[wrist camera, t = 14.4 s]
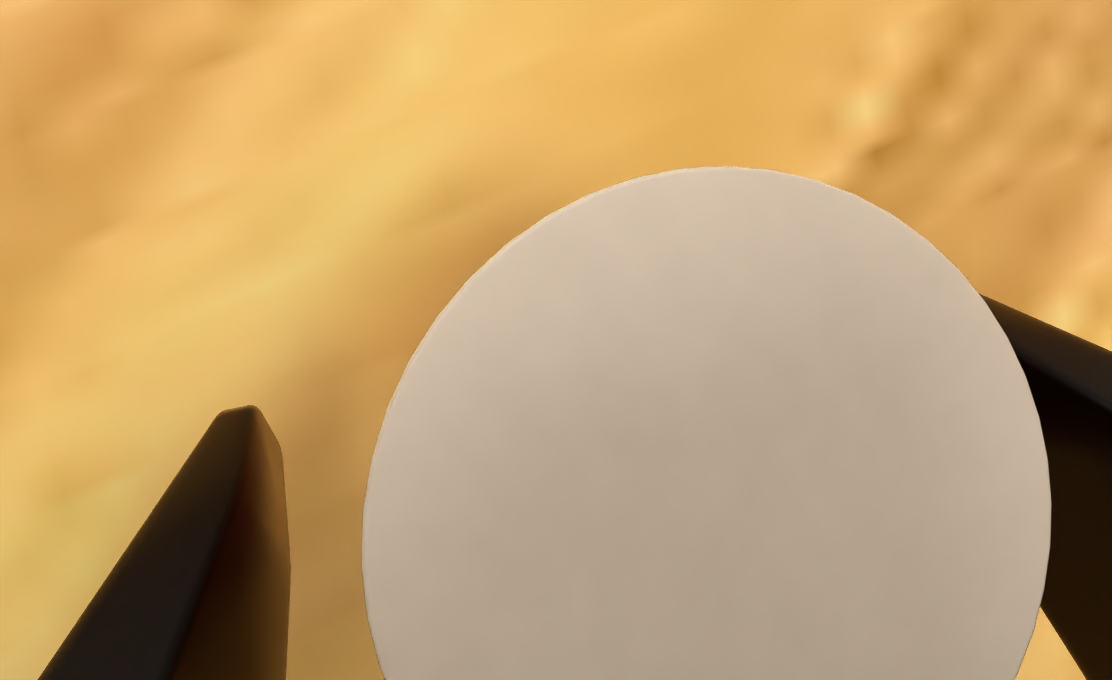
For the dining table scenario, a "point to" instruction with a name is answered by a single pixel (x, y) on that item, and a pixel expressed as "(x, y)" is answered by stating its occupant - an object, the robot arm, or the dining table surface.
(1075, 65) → the dining table surface
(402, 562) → the red cup with lid
